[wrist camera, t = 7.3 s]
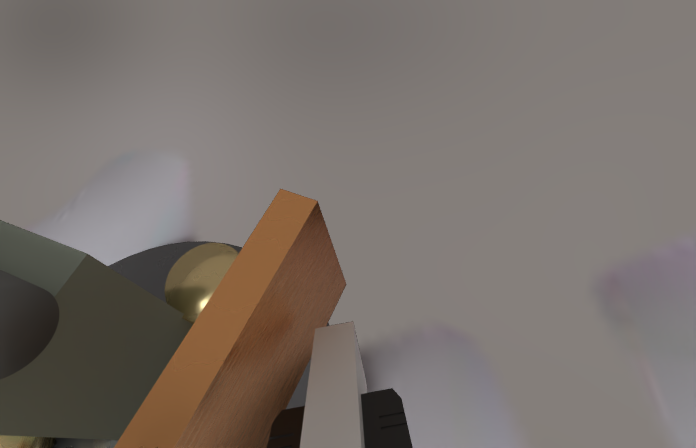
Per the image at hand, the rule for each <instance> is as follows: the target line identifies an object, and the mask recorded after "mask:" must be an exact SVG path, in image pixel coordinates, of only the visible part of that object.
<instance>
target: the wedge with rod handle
mask: <svg viewBox="0 0 696 448" xmlns="http://www.w3.org/2000/svg"><path fill="white" fill-rule="evenodd" d="M183 315H184V314H183V313H181V312H180V311H178V310H176V309H175V308H173V307H172V306H170V305H168V304H167V303H165V302H164V301H162V300H160V299H159V298H157V297H156V296H154V295H152V294H151V293H149V292H148V291H146V290H144V289H143V288H141V287H140V286H138V285H136V284H135V283H133V282H132V281H130V280H128V279H127V278H125V277H124V276H122V275H120V274H119V273H117V272H116V271H114V270H112V269H111V268H109V267H108V266H106V265H104V264H103V263H101V262H100V261H98V260H96V259H95V258H93V257H92V256H90V255H88V254H86V253H84V252H81V251H79V250H76V249H74V248H71V247H68V246H66V245H63V244H61V243H58V242H55V241H53V240H50V239H48V238H45V237H43V236H40V235H37V234H35V233H32V232H30V231H27V230H24V229H22V228H19V227H17V226H14V225H12V224H9V223H6V222H4V221H1V220H0V435H5V436H30V437H54V438H78V439H103V440H119V439H120V437H121V436H122V434H123V433H124V431H125V430H126V428H127V426H128V425H129V423H130V422H131V420H132V419H133V417H134V416H135V414H136V412H137V411H138V409H139V408H140V406H141V405H142V403H143V402H144V400H145V398H146V397H147V395H148V394H149V392H150V391H151V389H152V388H153V386H154V384H155V383H156V381H157V380H158V378H159V377H160V375H161V374H162V372H163V371H164V369H165V367H166V366H167V364H168V363H169V361H170V360H171V358H172V357H173V355H174V353H175V352H176V350H177V349H178V347H179V346H180V344H181V343H182V341H183V339H184V338H185V336H186V335H187V333H188V332H189V330H190V329H191V327H192V325H193V324H191V323H190V322H188V321H186V320H185V319H183V318H182V317H183Z"/></svg>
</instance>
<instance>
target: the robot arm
mask: <svg viewBox="0 0 696 448" xmlns="http://www.w3.org/2000/svg"><path fill="white" fill-rule="evenodd" d="M267 448H412V444H411V439H410V435H409V430H408V426H407V421H406V417H405V413H404V408H403V404H402V399H401V398H400V396H399V395H398V394H397V393H396V392H395V391H394V390H393V389H392V388H391V389H386V390H381V391H375V392H370V393H367V383H366V378H365V373H364V369H363V364H362V359H361V355H360V350H359V346H358V341H357V336H356V332H355V327H354V323H353V321H352V322H346V323H341V324H336V325H331V326H326V327H320V328H315V334H314V341H313V349H312V357H311V364H310V372H309V380H308V387H307V395H306V403H305V406H301V407H295V408H290V409H285V410H281V412H280V413H279V415H278V416H277V417H276V419H275V420H274V422H273V423H272V427H271V431H270V435H269V441H268V444H267Z"/></svg>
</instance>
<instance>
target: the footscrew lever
mask: <svg viewBox="0 0 696 448" xmlns="http://www.w3.org/2000/svg"><path fill="white" fill-rule="evenodd" d="M345 286H346V282H345V279H344V277H343V273H342V271H341V268H340V265H339V262H338V259H337V256H336V253H335V250H334V248H333V245H332V242H331V239H330V236H329V233H328V230H327V227H326V224H325V221H324V218H323V216H322V213H321V210H320V207H319V204H318V201H316V200H313V199H310V198H307V197H304V196H301V195H297V194H295V193H292V192H289V191H286V190H283V189H280V190H279V192H278V193H277V195H276V197H275V198H274V200H273V201H272V203H271V205H270V206H269V208H268V209H267V211H266V212H265V214H264V215H263V217H262V219H261V220H260V222H259V223H258V225H257V226H256V228H255V229H254V231H253V232H252V234H251V235H250V237H249V239H248V240H247V242H246V243H245V245H244V246H243V248H242V249H241V251H240V253H239V254H238V256H237V257H236V259H235V260H234V262H233V263H232V265H231V266H230V268H229V270H228V271H227V273H226V274H225V276H224V277H223V279H222V280H221V282H220V284H219V285H218V287H217V288H216V290H215V291H214V293H213V294H212V296H211V298H210V299H209V301H208V302H207V304H206V305H205V307H204V308H203V310H202V312H201V313H200V315H199V316H198V318H197V319H196V321H195V322H194V324H193V325H192V327H191V329H190V330H189V332H188V333H187V335H186V336H185V338H184V339H183V341H182V343H181V344H180V346H179V347H178V349H177V350H176V352H175V353H174V355H173V357H172V358H171V360H170V361H169V363H168V364H167V366H166V367H165V369H164V371H163V372H162V374H161V375H160V377H159V378H158V380H157V381H156V383H155V384H154V386H153V388H152V389H151V391H150V392H149V394H148V395H147V397H146V398H145V400H144V402H143V403H142V405H141V406H140V408H139V409H138V411H137V412H136V414H135V416H134V417H133V419H132V420H131V422H130V423H129V425H128V426H127V428H126V430H125V431H124V433H123V434H122V436H121V437H120V439H119V440H118V442H117V443H116V445H115V447H114V448H267V444H268V441H269V435H270V431H271V427H272V423H273V422H274V420H275V419H276V417H277V416H278V415H279V413H280V412H281V410H285V409H286V407H287V405H288V403H289V401H290V399H291V397H292V395H293V393H294V391H295V389H296V387H297V385H298V383H299V381H300V379H301V377H302V375H303V373H304V370H305V368H306V366H307V364H308V362H309V360H310V358H311V356H312V349H313V341H314V334H315V328H320V327H326V325H327V323H328V321H329V319H330V317H331V315H332V313H333V311H334V309H335V307H336V305H337V303H338V301H339V298H340V296H341V294H342V292H343V290H344V288H345Z"/></svg>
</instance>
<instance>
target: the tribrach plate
mask: <svg viewBox="0 0 696 448" xmlns="http://www.w3.org/2000/svg"><path fill="white" fill-rule="evenodd" d="M241 249H242V247H238V246H234V245H230V244H225V243H216V242H183V243H176V244H168V245H164V246H160V247H156V248H152V249H148V250H145V251H143V252H140V253H137V254H134V255H132V256H129V257H127V258H124V259H122V260H120V261H118V262H116V263H114V264H112V265H110V266H108V267H109V268H111V269H112V270H114V271H116V272H117V273H119V274H120V275H122V276H124V277H125V278H127V279H128V280H130V281H132V282H133V283H135V284H136V285H138V286H140V287H141V288H143V289H144V290H146V291H148V292H149V293H151V294H152V295H154V296H156V297H157V298H159V299H160V300H162V301H164V302H165V303H167V304H168V305H170V306H172V307H173V308H175V309H176V310H178V311H180V312H181V313H183V314H184V315H183V317H182V318H183V319H185V320H186V321H188V322H190V323H191V324H194V322H195V321H196V319H197V318H198V316H199V315H200V313H201V312H202V310H203V308H204V307H205V305H206V304H207V302H208V301H209V299H210V298H211V296H212V294H213V293H214V291H215V290H216V288H217V287H218V285H219V284H220V282H221V280H222V279H223V277H224V276H225V274H226V273H227V271H228V270H229V268H230V266H231V265H232V263H233V262H234V260H235V259H236V257H237V256H238V254H239V253H240V251H241ZM326 326H329V324H328V323H327V325H326ZM311 357H312V356H311ZM310 364H311V358H310V360H309V362H308V364H307V366H306V368H305V370H304V373H303V375H302V377H301V379H300V381H299V383H298V385H297V387H296V389H295V391H294V393H293V395H292V397H291V399H290V401H289V403H288V405H287V407H286V409H290V408H295V407H301V406H305V403H306V395H307V387H308V380H309V372H310ZM117 442H118V440H103V439H78V438H54V437H30V436H5V435H0V448H114V447H115V445H116V443H117Z"/></svg>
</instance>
